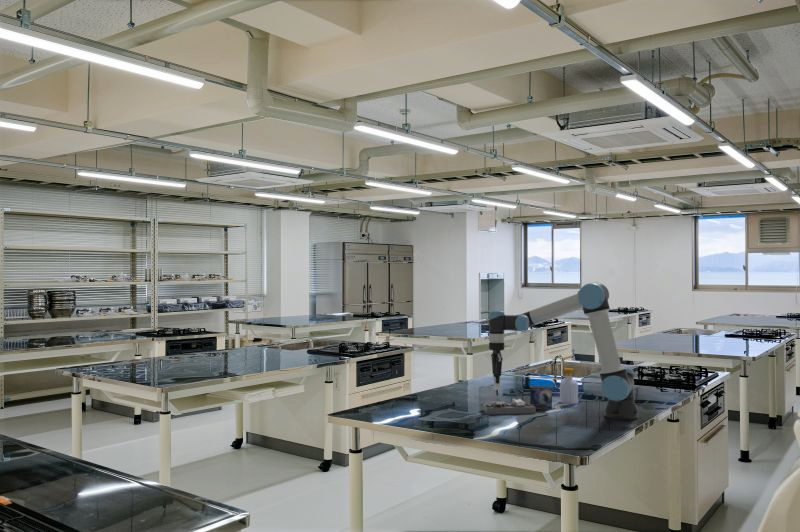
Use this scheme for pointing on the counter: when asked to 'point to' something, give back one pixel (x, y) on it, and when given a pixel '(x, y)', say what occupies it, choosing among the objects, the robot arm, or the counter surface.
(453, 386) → the counter surface
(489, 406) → the power strip
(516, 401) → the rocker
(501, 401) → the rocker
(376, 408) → the counter surface
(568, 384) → the soap bottle
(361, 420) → the counter surface
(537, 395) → the small box
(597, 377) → the aluminum foil
